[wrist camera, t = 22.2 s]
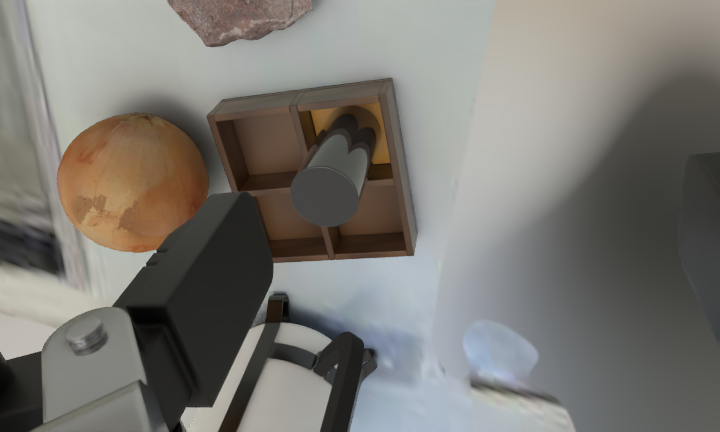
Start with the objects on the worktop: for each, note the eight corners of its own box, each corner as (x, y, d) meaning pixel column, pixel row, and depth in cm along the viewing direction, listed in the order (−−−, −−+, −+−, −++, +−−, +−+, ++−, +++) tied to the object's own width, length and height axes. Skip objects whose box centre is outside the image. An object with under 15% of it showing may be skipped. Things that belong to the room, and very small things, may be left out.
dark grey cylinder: (376, 101, 40) (351, 163, 32) (386, 155, 42) (364, 225, 34) (319, 108, 41) (281, 169, 33) (331, 160, 43) (298, 229, 35)
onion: (122, 203, 49) (48, 278, 41) (92, 87, 44) (0, 146, 35) (235, 213, 48) (182, 294, 39) (218, 95, 42) (153, 158, 34)
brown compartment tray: (392, 77, 39) (386, 94, 37) (417, 232, 45) (414, 255, 43) (222, 99, 42) (205, 115, 40) (267, 242, 48) (256, 264, 46)
